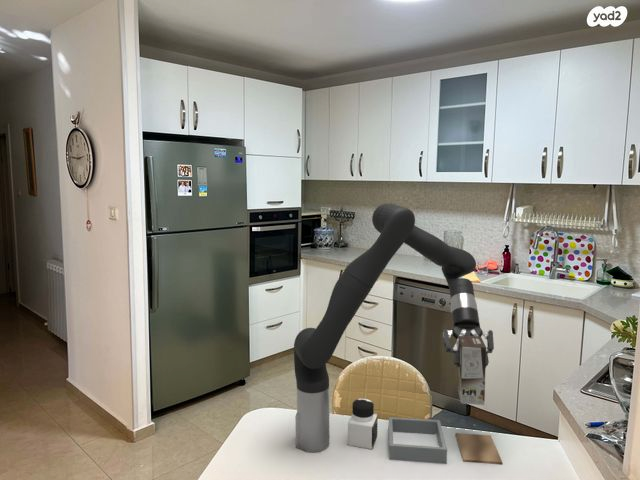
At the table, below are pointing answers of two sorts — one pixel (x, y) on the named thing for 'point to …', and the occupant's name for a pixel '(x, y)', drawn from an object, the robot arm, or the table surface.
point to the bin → (416, 451)
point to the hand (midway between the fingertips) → (471, 366)
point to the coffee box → (471, 369)
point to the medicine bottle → (362, 424)
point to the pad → (478, 448)
